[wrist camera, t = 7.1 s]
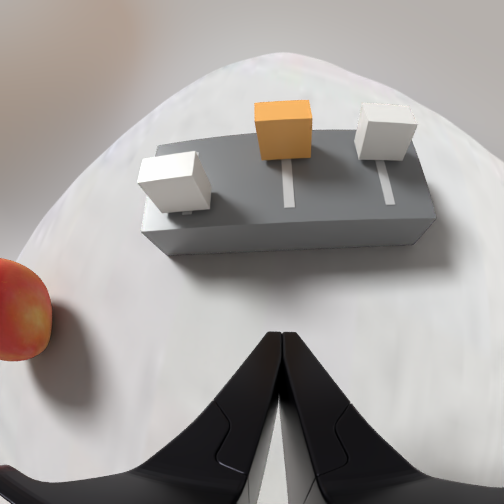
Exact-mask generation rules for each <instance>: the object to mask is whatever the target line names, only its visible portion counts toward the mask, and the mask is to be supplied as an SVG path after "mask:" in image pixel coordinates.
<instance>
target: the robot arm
mask: <svg viewBox="0 0 504 504" xmlns="http://www.w3.org/2000/svg"><path fill="white" fill-rule="evenodd" d="M278 401H279V409H280V419H281V429H282V439H283V449H284V460H285V470H286V481H287V492H288V503H289V504H504V487H503V488H497V487H486V486H478V485H471V484H465V483H459V482H454V481H448V480H444V479H439V478H434V477H431V476H428V475H426V474H424V473H422V472H420V471H419V470H417V469H416V468H415V467H413V466H412V465H411V464H410V463H409V462H408V461H407V460H406V459H404V458H403V457H402V456H401V455H400V454H399V453H398V452H397V451H396V450H395V449H394V448H393V447H392V446H390V445H389V444H388V443H387V442H386V441H385V440H384V439H383V438H382V437H381V436H380V435H379V434H378V433H377V432H376V431H375V430H374V429H373V428H372V427H371V426H370V425H369V424H368V423H367V421H366V420H365V419H364V418H363V417H362V416H361V414H360V413H359V412H358V411H357V410H356V408H355V407H354V406H353V404H350V401H349V399H348V398H347V397H346V396H345V394H344V393H343V392H342V391H341V389H340V388H339V387H338V385H337V384H336V383H335V382H334V380H333V379H332V378H331V376H330V375H329V374H328V373H327V371H326V370H325V369H324V367H323V366H322V365H321V364H320V362H319V361H318V360H317V358H316V357H315V356H314V355H313V353H312V352H311V351H310V349H309V348H308V347H307V346H306V344H305V343H304V342H303V340H302V339H301V338H300V336H299V335H298V334H297V333H296V332H283V333H281V332H271V331H270V332H267V333H266V334H265V336H264V337H263V338H262V340H261V341H260V342H259V344H258V345H257V346H256V347H255V349H254V350H253V351H252V352H251V354H250V355H249V356H248V358H247V359H246V360H245V361H244V363H243V364H242V365H241V366H240V368H239V369H238V370H237V371H236V373H235V374H234V375H233V376H232V377H231V379H230V380H229V381H228V382H227V384H226V385H225V386H224V387H223V388H222V390H221V391H220V392H219V393H218V394H217V396H216V397H215V398H214V401H211V403H210V404H209V405H208V406H207V407H206V409H205V410H204V411H203V412H202V413H201V414H200V415H199V416H198V417H197V418H196V419H195V420H194V421H193V422H192V423H191V424H190V425H189V426H188V427H187V428H186V429H185V430H184V431H182V432H181V433H180V434H179V435H178V436H177V437H176V438H174V439H173V440H172V441H171V442H169V443H168V444H167V445H166V446H165V447H163V448H162V449H161V450H160V451H158V452H157V453H156V454H155V455H153V456H152V457H151V458H150V459H148V460H147V461H146V462H144V463H143V464H141V465H140V466H138V467H136V468H134V469H132V470H130V471H127V472H124V473H119V474H114V475H109V476H104V477H98V478H91V479H85V480H77V481H69V482H58V483H49V482H41V481H38V480H34V479H32V478H29V477H27V476H26V475H24V474H23V473H21V472H20V471H18V470H16V469H15V468H13V467H11V466H9V465H0V496H2V497H3V498H4V499H6V500H7V501H8V502H10V503H11V504H257V500H258V496H259V492H260V488H261V484H262V479H263V475H264V471H265V466H266V462H267V457H268V452H269V448H270V443H271V438H272V433H273V429H274V424H275V419H276V413H277V408H278Z"/></svg>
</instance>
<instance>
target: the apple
mask: <svg viewBox="0 0 504 504" xmlns="http://www.w3.org/2000/svg"><path fill="white" fill-rule="evenodd" d="M51 327H52V306H51V300H50V297H49V293H48V291H47V288H46V286H45V285H44V283H43V282H42V280H41V279H40V278H39V277H38V276H37V275H36V274H35V273H34V272H33V271H31V270H30V269H29V268H27V267H25V266H23V265H21V264H19V263H17V262H14V261H11V260H7V259H2V258H0V360H4V361H22V360H27V359H30V358H33V357H35V356H37V355H39V354H40V353H41V352H43V351H44V350H45V348H46V347H47V345H48V343H49V340H50V335H51Z"/></svg>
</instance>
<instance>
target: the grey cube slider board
mask: <svg viewBox="0 0 504 504" xmlns="http://www.w3.org/2000/svg"><path fill="white" fill-rule="evenodd" d="M355 135H356V130H312V140H311V158H295V159H276V160H261V154H260V149H259V143H258V137H257V133H251V134H240V135H230V136H221V137H213V138H205V139H197V140H190V141H183V142H177V143H171V144H165V145H159V146H157V151H156V155H155V157H157V156H164V155H170V154H176V153H183V152H191V151H196V153H197V155H198V158H199V160H200V162H201V164H202V166H203V169H204V171H205V173H206V175H207V177H208V180H209V182H210V184H211V186H212V189H211V202H210V209H206V210H193V211H182V212H171V213H161V211H160V210H159V209H158V208H157V207H156V205H155V204H154V203H153V202H152V200H151V199H150V198H149V197H148V196H147V198H146V203H145V209H144V215H143V220H142V226H141V232H142V233H143V234H144V235H145V236H146V237H147V238H148V239H149V240H150V241H151V242H152V243H153V244H155V245H156V246H157V247H158V248H159V249H160V250H161V251H162V252H163V253H165V254H166V255H188V254H211V253H233V252H256V251H279V250H302V249H324V248H347V247H370V246H393V245H413V244H414V243H415V242H416V241H417V240H418V239H419V238H420V237H421V236H422V234H423V233H424V232H425V231H426V230H427V229H428V228H429V226H430V225H431V224H432V223H433V222H434V221H435V220H436V218H437V217H436V214H435V210H434V206H433V202H432V199H431V195H430V192H429V189H428V185H427V182H426V179H425V176H424V173H423V170H422V167H421V164H420V161H419V158H418V156H417V153H416V150H415V147H414V145H413V142H412V140H411V142H410V145H409V147H408V149H407V151H406V154H405V156H404V158H403V161H399V160H359V158H358V154H357V150H356V146H355V143H354V140H355Z"/></svg>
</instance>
